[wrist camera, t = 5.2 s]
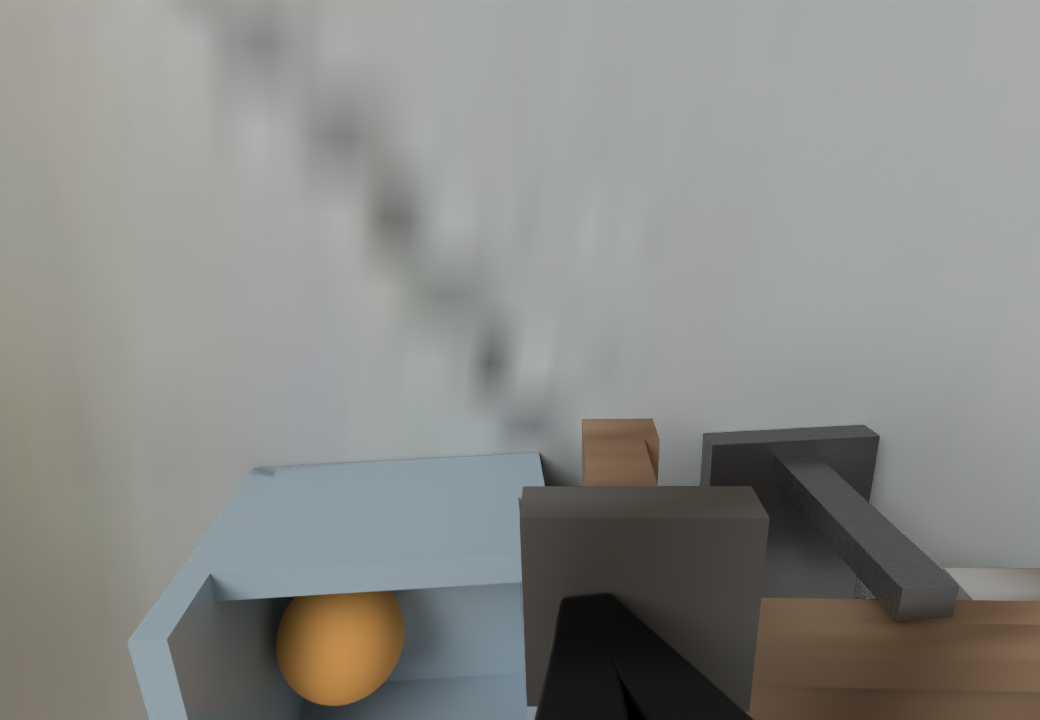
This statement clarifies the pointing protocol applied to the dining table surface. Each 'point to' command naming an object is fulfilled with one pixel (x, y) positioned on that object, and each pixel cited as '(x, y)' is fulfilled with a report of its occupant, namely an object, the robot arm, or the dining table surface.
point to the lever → (763, 601)
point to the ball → (339, 645)
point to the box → (351, 591)
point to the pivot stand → (827, 519)
